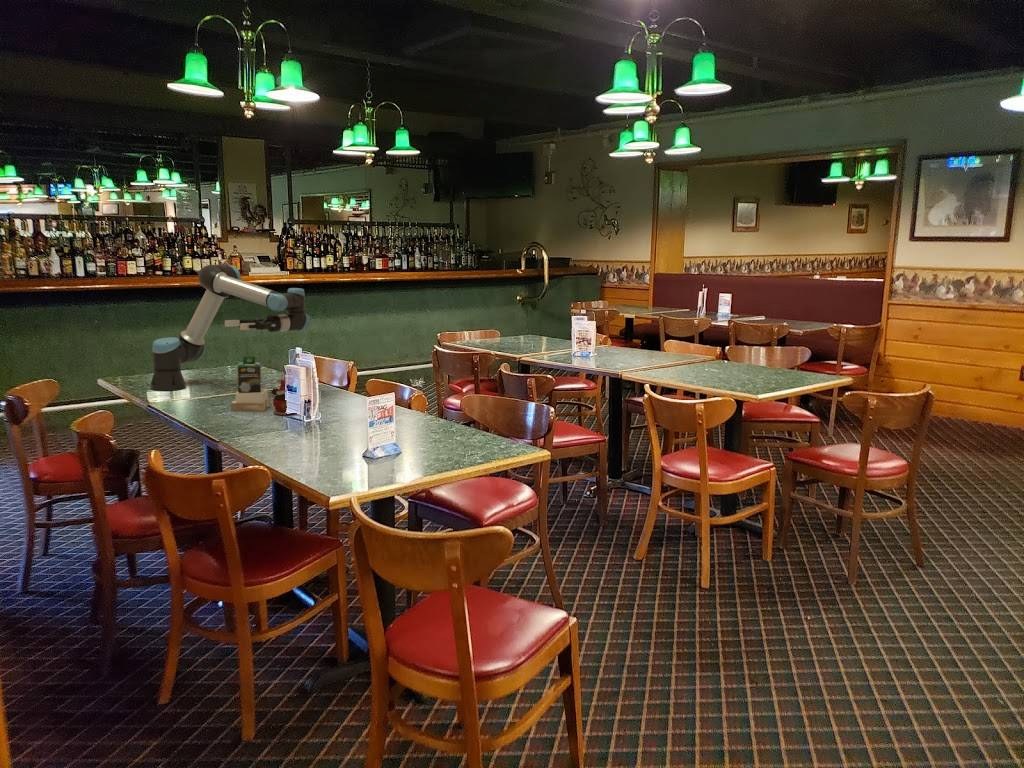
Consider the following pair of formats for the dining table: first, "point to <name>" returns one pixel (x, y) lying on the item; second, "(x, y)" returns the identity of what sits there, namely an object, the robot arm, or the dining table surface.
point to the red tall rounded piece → (279, 397)
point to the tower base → (250, 406)
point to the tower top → (252, 396)
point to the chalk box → (249, 375)
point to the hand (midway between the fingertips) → (232, 325)
